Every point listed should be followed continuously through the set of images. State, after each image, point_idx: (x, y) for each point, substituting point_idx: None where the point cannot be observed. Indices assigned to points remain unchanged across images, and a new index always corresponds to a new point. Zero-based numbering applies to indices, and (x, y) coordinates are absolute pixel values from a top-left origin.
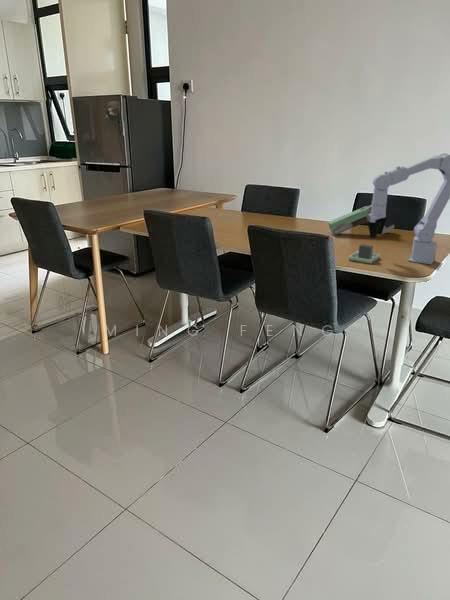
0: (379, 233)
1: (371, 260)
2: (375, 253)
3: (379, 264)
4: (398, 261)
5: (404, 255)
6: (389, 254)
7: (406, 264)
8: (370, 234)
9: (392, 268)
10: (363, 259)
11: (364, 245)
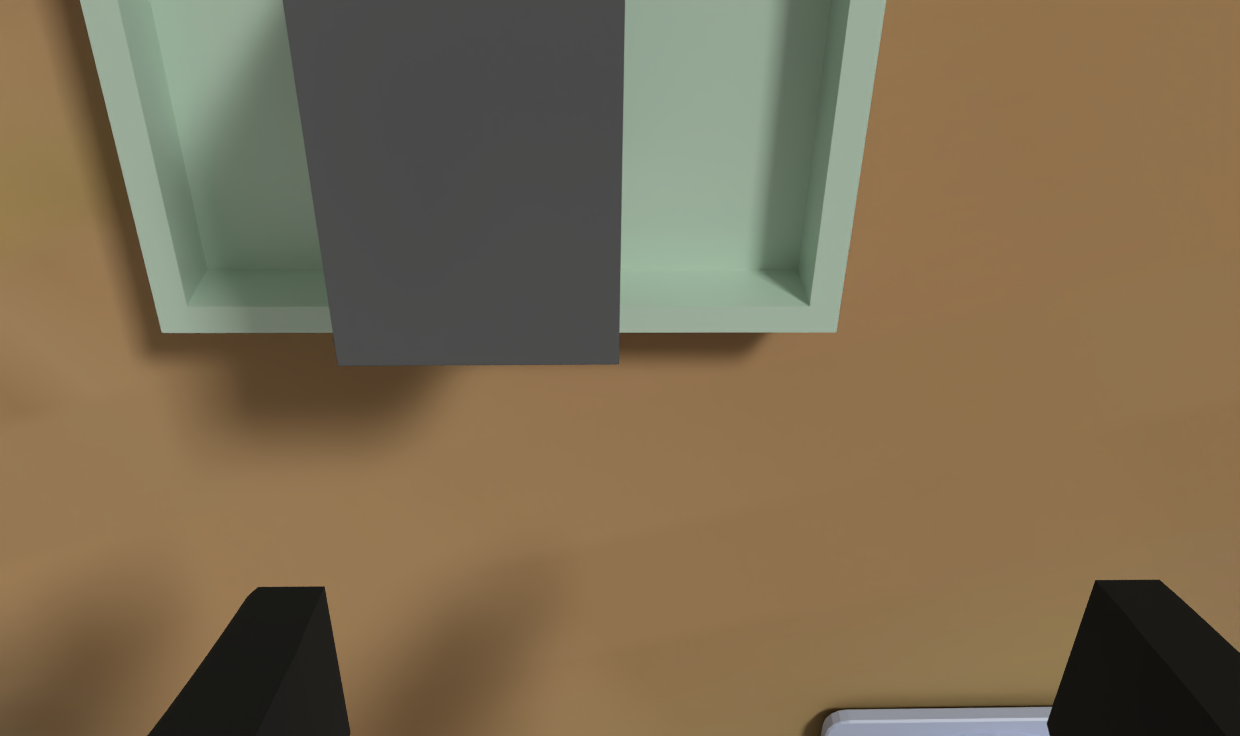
0: (1075, 721)
1: (164, 324)
2: (838, 229)
3: (305, 414)
4: (742, 607)
5: (1235, 588)
6: (1233, 362)
7: (621, 727)
8: (177, 717)
9: None
10: (118, 123)
11: (456, 121)
